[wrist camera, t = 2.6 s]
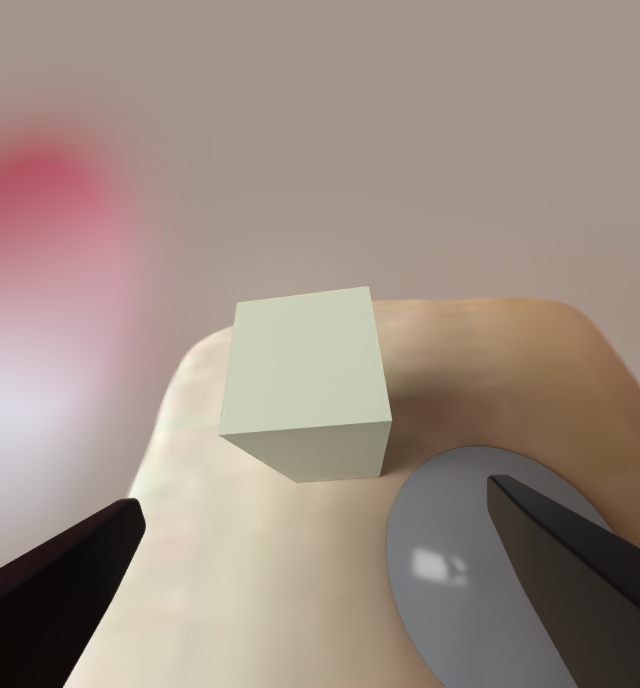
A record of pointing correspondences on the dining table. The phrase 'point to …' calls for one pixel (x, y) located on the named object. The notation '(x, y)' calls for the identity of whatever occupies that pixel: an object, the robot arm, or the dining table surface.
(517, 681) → the slate coaster
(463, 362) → the dining table surface
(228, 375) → the block
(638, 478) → the dining table surface
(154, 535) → the dining table surface
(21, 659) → the robot arm
